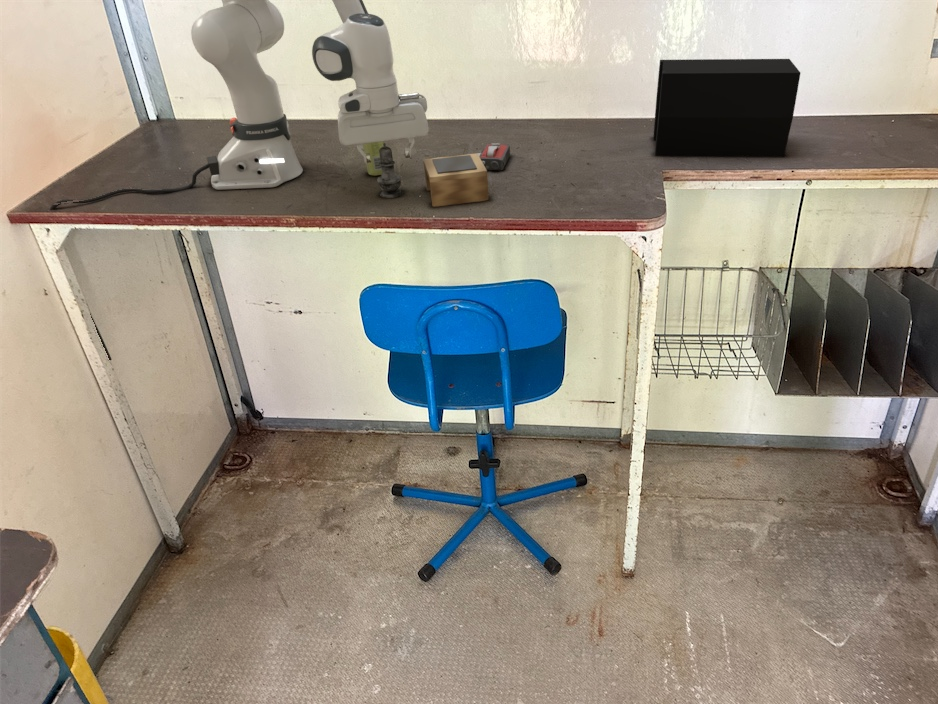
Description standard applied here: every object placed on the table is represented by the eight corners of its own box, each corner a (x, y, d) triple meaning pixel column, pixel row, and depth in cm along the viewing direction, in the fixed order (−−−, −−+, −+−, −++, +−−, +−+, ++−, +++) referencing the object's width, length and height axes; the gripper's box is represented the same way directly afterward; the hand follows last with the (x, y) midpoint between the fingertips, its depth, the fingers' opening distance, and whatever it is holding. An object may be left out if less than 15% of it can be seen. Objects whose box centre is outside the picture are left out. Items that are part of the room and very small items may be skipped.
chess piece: (399, 198, 166) (392, 147, 159) (375, 197, 167) (367, 146, 160) (407, 189, 171) (400, 139, 163) (383, 188, 172) (376, 138, 164)
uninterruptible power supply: (653, 136, 195) (659, 58, 183) (779, 137, 191) (795, 57, 179) (655, 157, 182) (662, 74, 170) (791, 158, 178) (808, 74, 166)
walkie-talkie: (479, 153, 189) (462, 181, 173) (478, 136, 186) (461, 163, 171) (512, 153, 188) (497, 182, 172) (511, 137, 185) (496, 164, 169)
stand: (432, 207, 161) (429, 175, 157) (426, 187, 171) (422, 157, 166) (488, 200, 163) (486, 169, 159) (479, 181, 173) (477, 151, 168)
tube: (368, 169, 182) (356, 89, 171) (388, 167, 183) (377, 88, 171) (367, 177, 178) (354, 96, 166) (387, 175, 178) (375, 94, 166)
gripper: (423, 88, 159) (431, 149, 168) (331, 98, 156) (343, 160, 165) (427, 95, 154) (434, 158, 163) (332, 106, 151) (344, 169, 160)
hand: (388, 159), depth 164 cm, fingers open, 8 cm apart
